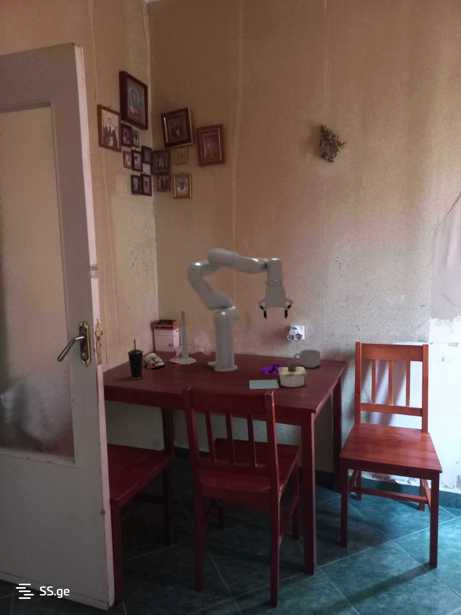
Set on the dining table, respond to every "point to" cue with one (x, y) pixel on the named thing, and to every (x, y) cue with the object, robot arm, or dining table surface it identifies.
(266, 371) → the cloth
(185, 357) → the candlestick
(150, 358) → the skull
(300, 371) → the lid
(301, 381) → the bowl
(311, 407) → the dining table surface
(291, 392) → the dining table surface
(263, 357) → the dining table surface
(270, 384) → the mat
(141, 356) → the drinking cup
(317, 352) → the teacup
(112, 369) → the dining table surface
